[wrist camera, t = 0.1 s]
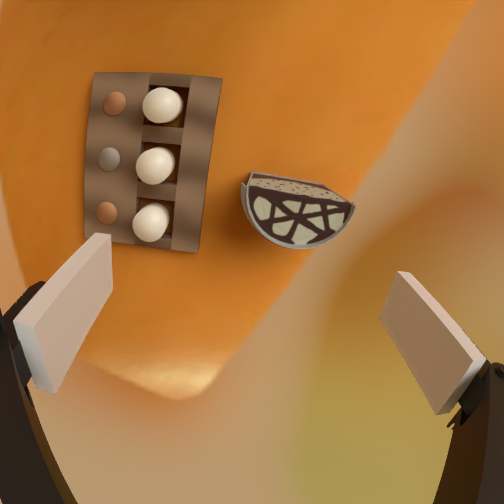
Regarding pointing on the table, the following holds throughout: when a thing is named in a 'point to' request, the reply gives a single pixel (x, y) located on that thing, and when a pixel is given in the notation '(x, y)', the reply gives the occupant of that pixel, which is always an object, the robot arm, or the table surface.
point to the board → (132, 146)
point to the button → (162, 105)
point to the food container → (294, 210)
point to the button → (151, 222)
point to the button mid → (155, 165)
